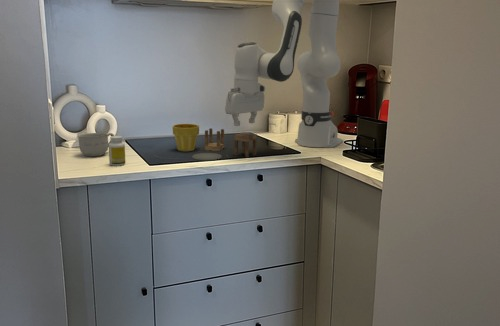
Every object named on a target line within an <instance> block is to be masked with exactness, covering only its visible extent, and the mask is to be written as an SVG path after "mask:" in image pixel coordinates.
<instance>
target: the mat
mask: <svg viewBox="0 0 500 326" xmlns="http://www.w3.org/2000/svg"><path fill="white" fill-rule="evenodd" d="M191 157H192V159H194V160H196V161H204V162H205V161H217V159H218V160H220V159H222V158H223V157H222V154H219V153H214V152H199V153H195V154H193V155H192V156H191Z"/></svg>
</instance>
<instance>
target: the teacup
mask: <svg viewBox="0 0 500 326" xmlns="http://www.w3.org/2000/svg"><path fill="white" fill-rule="evenodd" d="M112 136H115V134H113V133H112V132H108V133H106V132H91V133H83V134H78V136H77V139H78V147H79V151H80V152H81V153H82V154H83V155H84V156H86V157H99V156H104V155H105V154H106V152H107V151H109V144H110V143H111V140H110V141H109V137H112Z"/></svg>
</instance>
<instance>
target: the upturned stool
mask: <svg viewBox="0 0 500 326" xmlns="http://www.w3.org/2000/svg"><path fill="white" fill-rule="evenodd" d="M223 148H224V149H225V129H224V128H221V129H220V130H217V131H216V142H213V127H212V128H211V127H210V128H209V129H208V130H207V129H206V130H204V150H205V151H209V150H212V151H211V152H221V151H222V150H223ZM220 150H221V151H220Z"/></svg>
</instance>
